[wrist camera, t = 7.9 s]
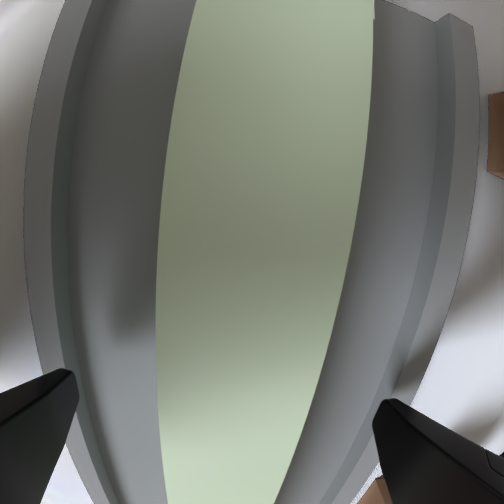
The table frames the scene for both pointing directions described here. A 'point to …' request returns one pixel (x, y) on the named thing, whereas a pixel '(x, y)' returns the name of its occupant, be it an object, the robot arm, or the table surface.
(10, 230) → the table surface
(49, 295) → the track
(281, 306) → the rail
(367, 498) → the hook post
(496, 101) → the hook post
